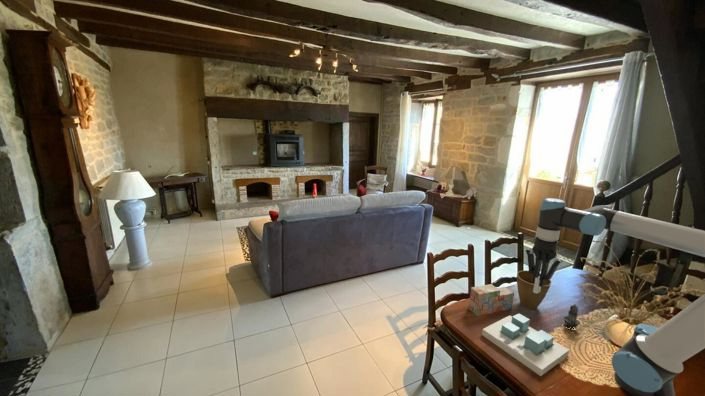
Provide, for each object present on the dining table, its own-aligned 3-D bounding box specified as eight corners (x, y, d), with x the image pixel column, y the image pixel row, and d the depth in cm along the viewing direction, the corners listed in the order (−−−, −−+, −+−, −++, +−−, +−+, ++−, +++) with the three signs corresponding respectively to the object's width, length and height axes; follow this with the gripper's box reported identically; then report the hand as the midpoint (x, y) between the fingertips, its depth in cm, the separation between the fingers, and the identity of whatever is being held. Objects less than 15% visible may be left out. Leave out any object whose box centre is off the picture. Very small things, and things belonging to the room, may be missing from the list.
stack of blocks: (502, 302, 152) (505, 281, 149) (511, 309, 146) (515, 287, 144) (468, 308, 147) (470, 286, 144) (476, 316, 141) (479, 293, 138)
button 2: (528, 329, 127) (530, 319, 126) (521, 333, 125) (523, 323, 124) (517, 322, 131) (518, 313, 130) (510, 326, 129) (512, 316, 128)
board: (567, 356, 117) (569, 349, 116) (540, 376, 107) (542, 368, 106) (509, 320, 138) (510, 314, 137) (481, 334, 128) (482, 328, 127)
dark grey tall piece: (580, 332, 131) (586, 308, 128) (566, 330, 132) (571, 307, 129) (573, 323, 136) (578, 301, 133) (559, 321, 137) (564, 299, 134)
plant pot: (506, 298, 156) (510, 271, 152) (529, 295, 158) (534, 269, 155) (527, 315, 141) (532, 286, 138) (553, 312, 144) (559, 283, 140)
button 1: (518, 338, 124) (520, 328, 123) (511, 342, 122) (513, 332, 121) (507, 331, 128) (508, 321, 127) (500, 334, 126) (502, 324, 125)
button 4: (551, 347, 119) (554, 337, 118) (545, 351, 117) (547, 341, 116) (539, 339, 123) (541, 329, 122) (532, 343, 121) (534, 333, 120)
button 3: (543, 350, 115) (545, 339, 114) (536, 354, 113) (538, 343, 112) (530, 342, 120) (532, 331, 118) (523, 346, 117) (525, 335, 116)
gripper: (570, 242, 108) (558, 297, 114) (534, 231, 119) (525, 282, 125) (560, 245, 105) (548, 302, 110) (524, 234, 116) (515, 286, 121)
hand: (536, 291), depth 118 cm, fingers closed
